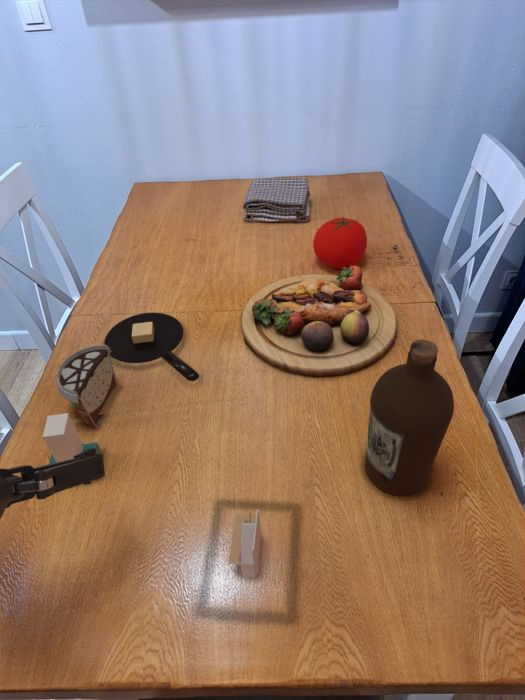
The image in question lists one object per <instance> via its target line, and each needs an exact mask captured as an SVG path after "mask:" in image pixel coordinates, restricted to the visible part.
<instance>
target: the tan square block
mask: <svg viewBox="0 0 525 700" xmlns="http://www.w3.org/2000/svg"><path fill="white" fill-rule="evenodd" d="M132 339H133V343H134V344H135V343H143V342H151V341H154V326H153V322H145V323H137V324H133V327H132Z"/></svg>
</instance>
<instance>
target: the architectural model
mask: <svg viewBox="0 0 525 700" xmlns="http://www.w3.org/2000/svg"><path fill="white" fill-rule="evenodd" d="M259 512H260V511H259V508H256V512H255V514H251V513H252V512H251V511H249V514H245V513H243V514H242V513H235V514H234V515H235V516H234V522H233V529H232V536H231V542H230V550H229V557H228V564H229V565H240V571H241V576H242V579H243V578H246V579H256V578H257V577H258V572H259V563H260V561H259V560H260V551H261V542H262V541H261V539H262V532H261V522H260V513H259Z"/></svg>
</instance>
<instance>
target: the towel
mask: <svg viewBox="0 0 525 700" xmlns="http://www.w3.org/2000/svg"><path fill="white" fill-rule="evenodd" d="M245 195H246V196H245V198H244V201H243V204H242V209H243V210H244V216H243V219H244V221H247V222H250V223H251V222H252V223H277V222H280V223H282V222H284V223H285V222H291V223H292V222H296V223H297V222H298V223H299V222H300V223H306V222H308V220H309V218H310V209H311V207H310V198H311V197H310V196H311V192H310V186H309V180H308V178H306V177H291V178H288V177H285V178H284V177H261V178H260V177H259V178H255V179H254V180H253V181H251V183H250V184H249V186H248V188H247V193H246V194H245Z"/></svg>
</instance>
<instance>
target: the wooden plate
mask: <svg viewBox="0 0 525 700" xmlns="http://www.w3.org/2000/svg"><path fill="white" fill-rule="evenodd" d="M339 270H340V273H339V274H337V275H335V274H334V275H333V274H323V273H311V274H300V275H294V276H290V277H289V276H288V277H286V278H282V279H279V280H276V281H274V282H271V283H270V284H268V285H266V286H264V287H262V288H261V289H260V290H258V291H257V292H255V293H254V295H252V296H251V298H249V300H248V301H247V302H246V305H245V306H244V307H243V308H244V309H243V310H242V312H241V318H240V328H241V333H242V336H243V339H244V341H245V343H246V344H247V345H248V346H249V348H250V349H251V350H252V351H253V352H254V353H255V354H256V355H257V356H258V357H259V358H261V359H262V360H264V362H267V363H268V364H270V365H272V366H273V367H276V368H278V369H281V370H284V371H287V372H291V373H294V374H300V375H307V376H316V377H317V376H320V377H323V376H335V375H342V374H347V373H351V372H354V371H357V370H359V369H362V368H365V367H366V366H369V365H371V364H373V363H374V362H375V361H377V360H379V359H380V358H381V357H382V356H383V355H384V354H386V352H387V351H388V350H389V349H390V348H391V346H392V345H393V344H394V342H395V339H396V335H397V332H398V331H397V330H398V320H397V315H396V313H395V311H394V308H393V306H392V305H391V303H390V302H389V301H388V299H387V298H385V296H383V294H381V293H380V292H378V290H376V289H375V288H373V287H371V286H369V285H367V284H365V283H363V282H362V281H363V275H364V274H363V270H362V268H361V267H360V266H358V265H354V266H351V265H350V267H349V268H346V267H345V266H344V268H342V269H339Z"/></svg>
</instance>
